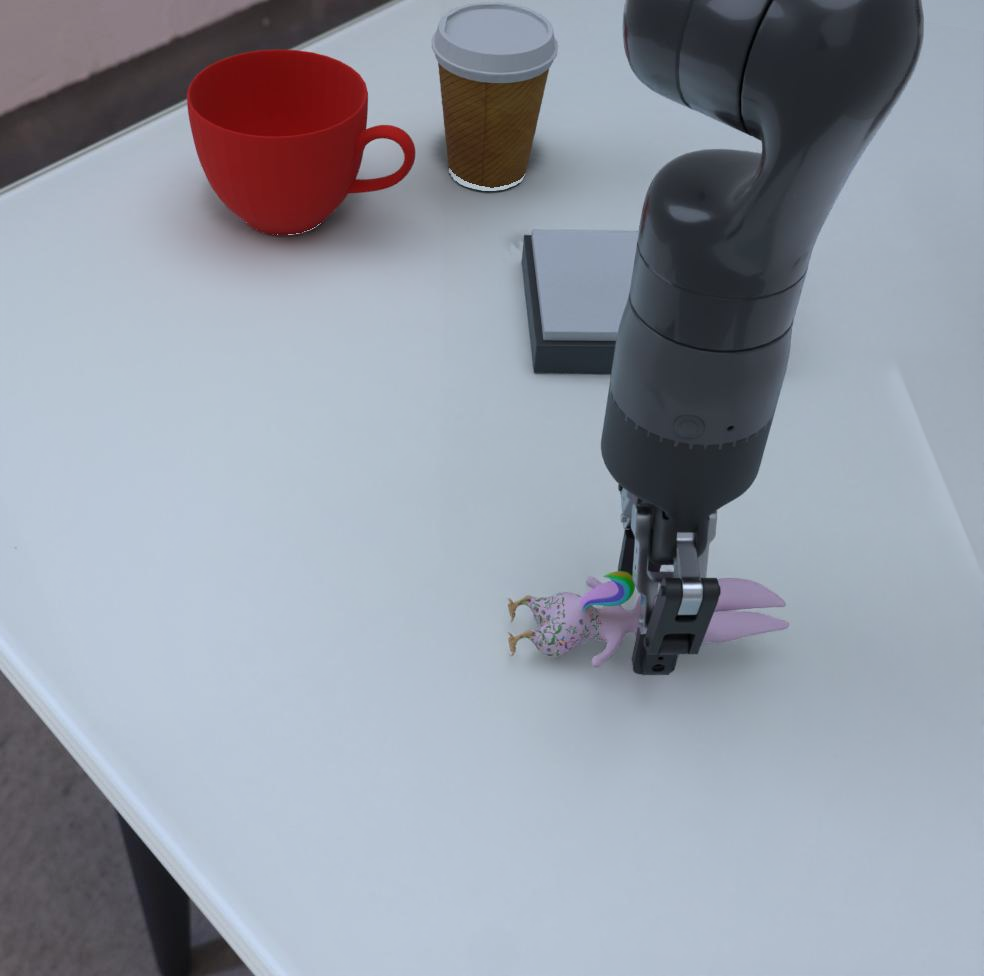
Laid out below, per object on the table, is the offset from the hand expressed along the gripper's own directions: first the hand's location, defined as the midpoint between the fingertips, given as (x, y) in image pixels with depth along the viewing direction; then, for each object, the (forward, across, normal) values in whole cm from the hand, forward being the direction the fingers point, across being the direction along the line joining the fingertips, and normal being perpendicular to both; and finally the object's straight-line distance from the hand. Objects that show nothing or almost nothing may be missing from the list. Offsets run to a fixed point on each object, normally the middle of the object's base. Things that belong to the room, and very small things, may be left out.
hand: (644, 621), depth 71 cm
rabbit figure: (+2, 0, 0) cm, 2 cm away
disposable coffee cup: (+2, +49, +6) cm, 49 cm away
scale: (+2, +30, -4) cm, 30 cm away
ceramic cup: (+2, +42, +20) cm, 47 cm away
